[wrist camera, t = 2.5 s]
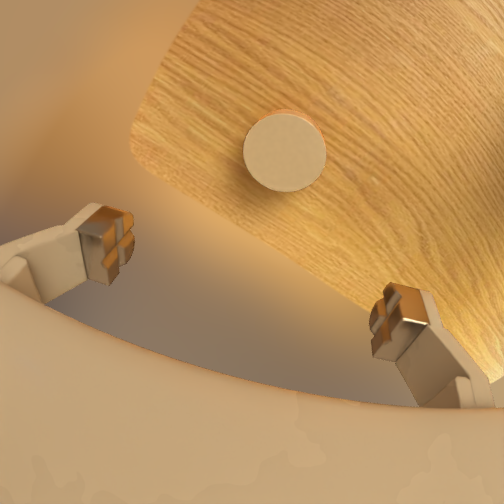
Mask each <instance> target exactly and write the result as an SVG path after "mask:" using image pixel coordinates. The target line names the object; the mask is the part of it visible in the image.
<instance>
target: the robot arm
mask: <svg viewBox="0 0 504 504" xmlns="http://www.w3.org/2000/svg"><path fill="white" fill-rule="evenodd" d="M133 225H134V220H133V215H132V214H131V213H130V212H127V211H123V210H120V209H116V208H113V207H109V206H105V205H101V204H98V203H89V204H88V205H87V206H86V207H84V208H83V209H82V210H81V211H80V212H78V213H77V214H76V215H75V216H74V217H72V218H71V219H70V220H69V221H68V222H67V223H66V224H64V225H63V226H60V225H58V226H55V227H52V228H49V229H46V230H43V231H40V232H37V233H34V234H31V235H28V236H25V237H23V238H20V239H17V240H14V241H11V242H9V243H6V244H3V245H1V246H0V504H504V408H495V404H494V400H493V395H492V392H491V388H490V384H489V380H488V377H487V376H486V375H485V374H484V372H483V371H482V370H481V369H480V367H479V366H478V365H477V364H476V362H475V361H474V360H473V359H472V358H471V356H470V355H469V354H468V353H467V352H466V350H465V349H464V348H463V347H462V346H461V344H460V343H459V342H458V341H457V340H456V339H455V337H454V336H453V335H452V334H451V333H450V332H449V331H448V329H444V327H443V324H442V321H441V318H440V315H439V312H438V309H437V306H436V304H435V301H434V298H433V295H432V294H431V293H430V292H429V291H425V290H421V289H415V288H411V287H408V286H404V285H400V284H396V283H392V282H390V283H389V284H387V285H386V287H385V289H384V290H383V295H384V298H382V299H380V300H378V301H377V302H376V303H375V305H374V307H373V309H372V312H371V315H370V321H369V325H370V330H371V332H372V333H373V334H374V337H373V339H372V340H371V345H372V355H373V358H377V359H382V360H387V361H392V362H396V363H395V364H396V366H397V368H398V369H399V371H400V373H401V375H402V376H403V378H404V380H405V382H406V383H407V385H408V387H409V389H410V391H411V392H412V394H413V396H414V398H415V400H416V402H417V403H418V405H419V407H408V406H397V405H386V404H376V403H368V402H360V401H353V400H346V399H339V398H332V397H326V396H320V395H315V394H309V393H304V392H299V391H293V390H289V389H284V388H279V387H275V386H270V385H266V384H262V383H258V382H253V381H249V380H245V379H242V378H238V377H234V376H230V375H227V374H223V373H219V372H216V371H212V370H209V369H206V368H202V367H199V366H196V365H192V364H189V363H186V362H183V361H180V360H177V359H174V358H171V357H168V356H165V355H162V354H159V353H156V352H154V351H151V350H148V349H145V348H143V347H140V346H137V345H134V344H132V343H129V342H127V341H124V340H122V339H119V338H117V337H114V336H112V335H109V334H107V333H104V332H102V331H100V330H97V329H95V328H93V327H91V326H88V325H86V324H84V323H81V322H79V321H77V320H75V319H73V318H71V317H68V316H66V315H64V314H62V313H60V312H58V311H56V310H54V309H52V308H50V307H48V306H46V305H44V304H46V303H48V302H49V301H51V300H53V299H54V298H56V297H58V296H60V295H61V294H63V293H65V292H67V291H68V290H70V289H72V288H74V287H76V286H78V285H79V284H81V283H83V282H85V281H87V279H90V280H93V281H96V282H99V283H102V284H105V285H108V286H110V284H111V283H112V282H113V280H114V279H115V278H116V277H117V275H118V274H119V267H120V266H122V265H125V264H127V262H128V261H129V259H130V258H131V256H132V253H133V250H134V243H135V240H134V235H133V234H132V232H131V230H130V229H131V227H132V226H133Z"/></svg>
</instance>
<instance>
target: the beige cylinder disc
mask: <svg viewBox="0 0 504 504" xmlns="http://www.w3.org/2000/svg"><path fill="white" fill-rule="evenodd" d="M326 156H327V154H326V145H325V140H324V136H323V133H322V131H321V129H320V127H319V126H318V125H317V123H316V122H315V121H314V120H313V119H312V118H310V117H309V116H308V115H306V114H304V113H302V112H300V111H296V110H292V109H279V110H275V111H272V112H269V113H267V114H266V115H264V116H263V117H261V118H260V119H259V120H258V121H257V122H256V123H255V124H254V125H253V126H252V128H251V129H250V130H249V132H248V133H247V135H246V138H245V141H244V144H243V158H244V162H245V165H246V167H247V169H248V171H249V173H250V174H251V175H252V177H253V178H254V179H255V180H256V181H257V182H259V183H260V184H261V185H263V186H265V187H267V188H269V189H271V190H274V191H279V192H294V191H298V190H301V189H304V188H306V187H308V186H309V185H311V184H312V183H313V182H315V181H316V180H317V179H318V177H319V176H320V175H321V173H322V171H323V169H324V166H325V163H326Z"/></svg>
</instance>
